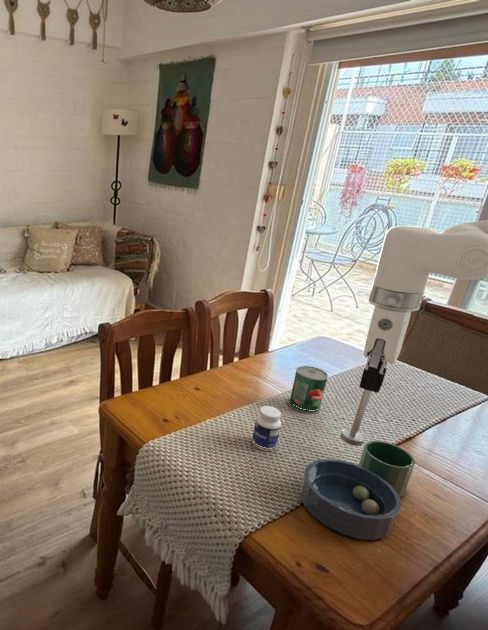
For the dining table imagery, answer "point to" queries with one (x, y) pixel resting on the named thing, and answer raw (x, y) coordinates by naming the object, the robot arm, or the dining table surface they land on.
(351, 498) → the bowl
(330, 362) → the dining table surface
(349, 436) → the black-handled disc rod
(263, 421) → the pill bottle
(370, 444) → the cup
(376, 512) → the ball
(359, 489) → the ball
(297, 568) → the dining table surface
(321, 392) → the canned tomato
